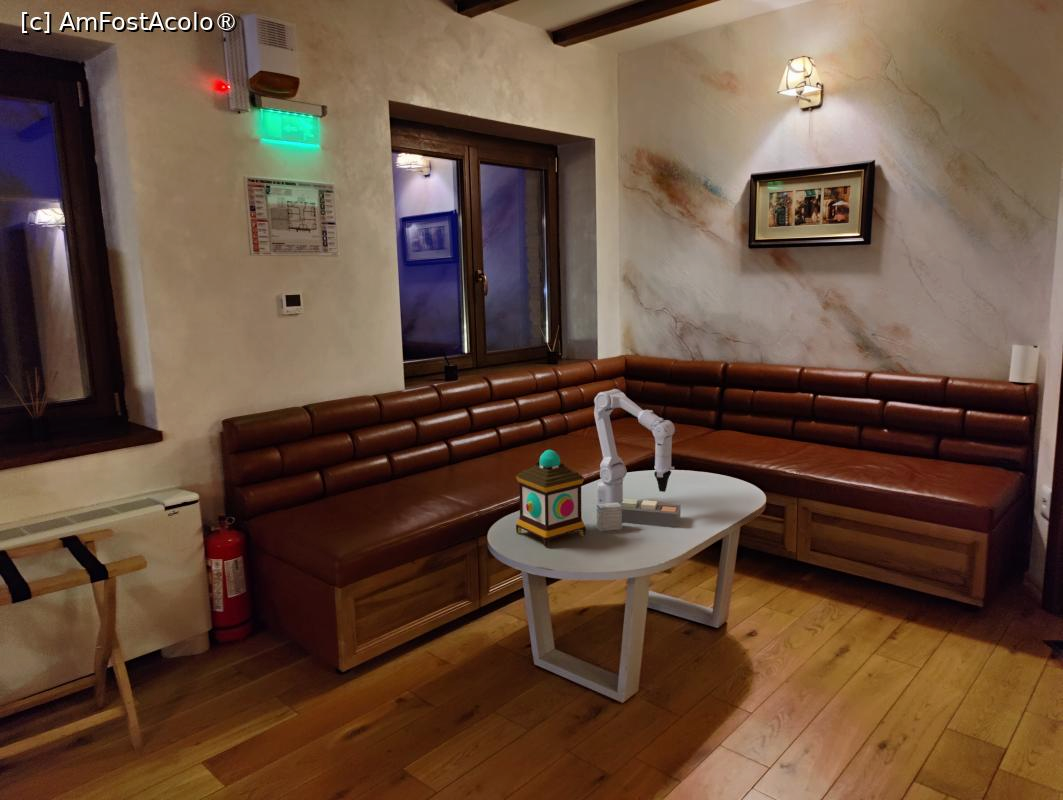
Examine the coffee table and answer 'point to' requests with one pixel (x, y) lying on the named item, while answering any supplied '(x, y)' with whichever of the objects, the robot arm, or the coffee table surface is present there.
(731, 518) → the coffee table surface
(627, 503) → the sage key
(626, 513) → the key panel
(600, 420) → the robot arm
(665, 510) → the terracotta key
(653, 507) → the cream key
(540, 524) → the decorative lantern
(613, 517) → the medicine box
